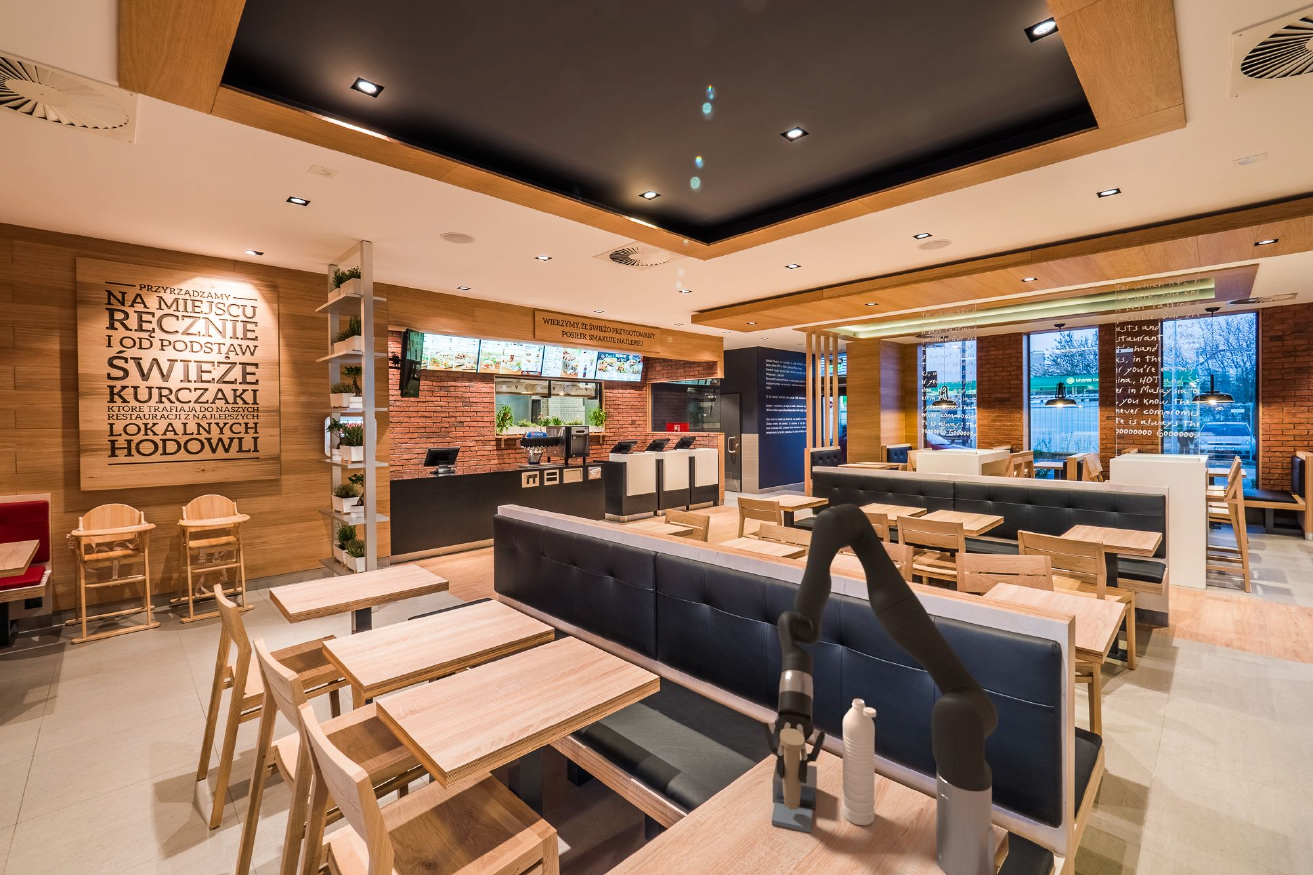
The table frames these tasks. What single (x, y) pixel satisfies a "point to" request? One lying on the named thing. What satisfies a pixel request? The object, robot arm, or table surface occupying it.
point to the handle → (792, 766)
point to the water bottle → (858, 764)
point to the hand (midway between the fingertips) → (791, 778)
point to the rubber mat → (792, 817)
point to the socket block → (806, 788)
